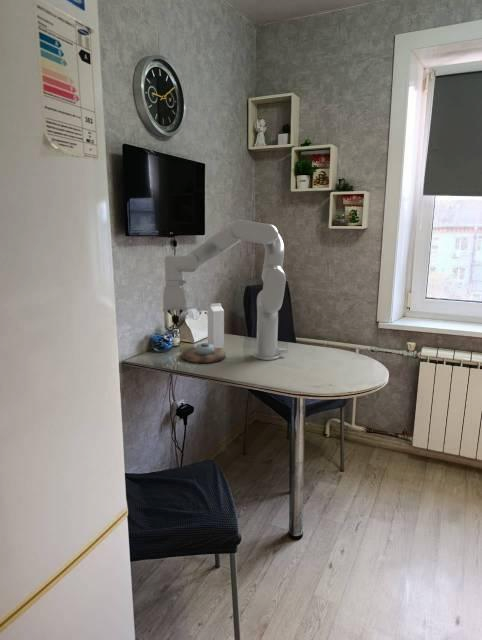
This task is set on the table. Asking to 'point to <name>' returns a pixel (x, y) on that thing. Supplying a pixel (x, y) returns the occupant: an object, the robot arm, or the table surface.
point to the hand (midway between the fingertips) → (175, 324)
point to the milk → (216, 325)
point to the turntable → (194, 357)
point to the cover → (205, 349)
